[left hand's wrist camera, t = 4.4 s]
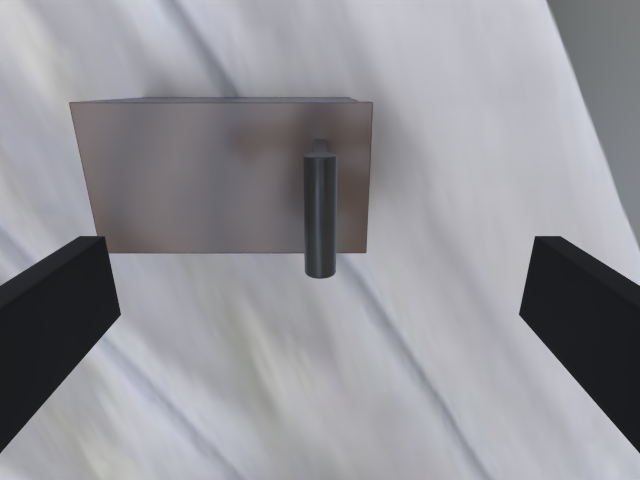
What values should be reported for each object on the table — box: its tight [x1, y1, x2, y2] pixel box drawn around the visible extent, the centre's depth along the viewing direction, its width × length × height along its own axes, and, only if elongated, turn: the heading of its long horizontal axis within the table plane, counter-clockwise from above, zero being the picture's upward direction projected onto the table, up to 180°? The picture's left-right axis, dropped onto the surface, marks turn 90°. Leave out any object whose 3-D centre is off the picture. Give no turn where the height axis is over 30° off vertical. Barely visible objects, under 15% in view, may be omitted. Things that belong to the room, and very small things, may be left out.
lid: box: [69, 102, 373, 279], centre depth 22 cm, size 17×9×8 cm, turn 90°
